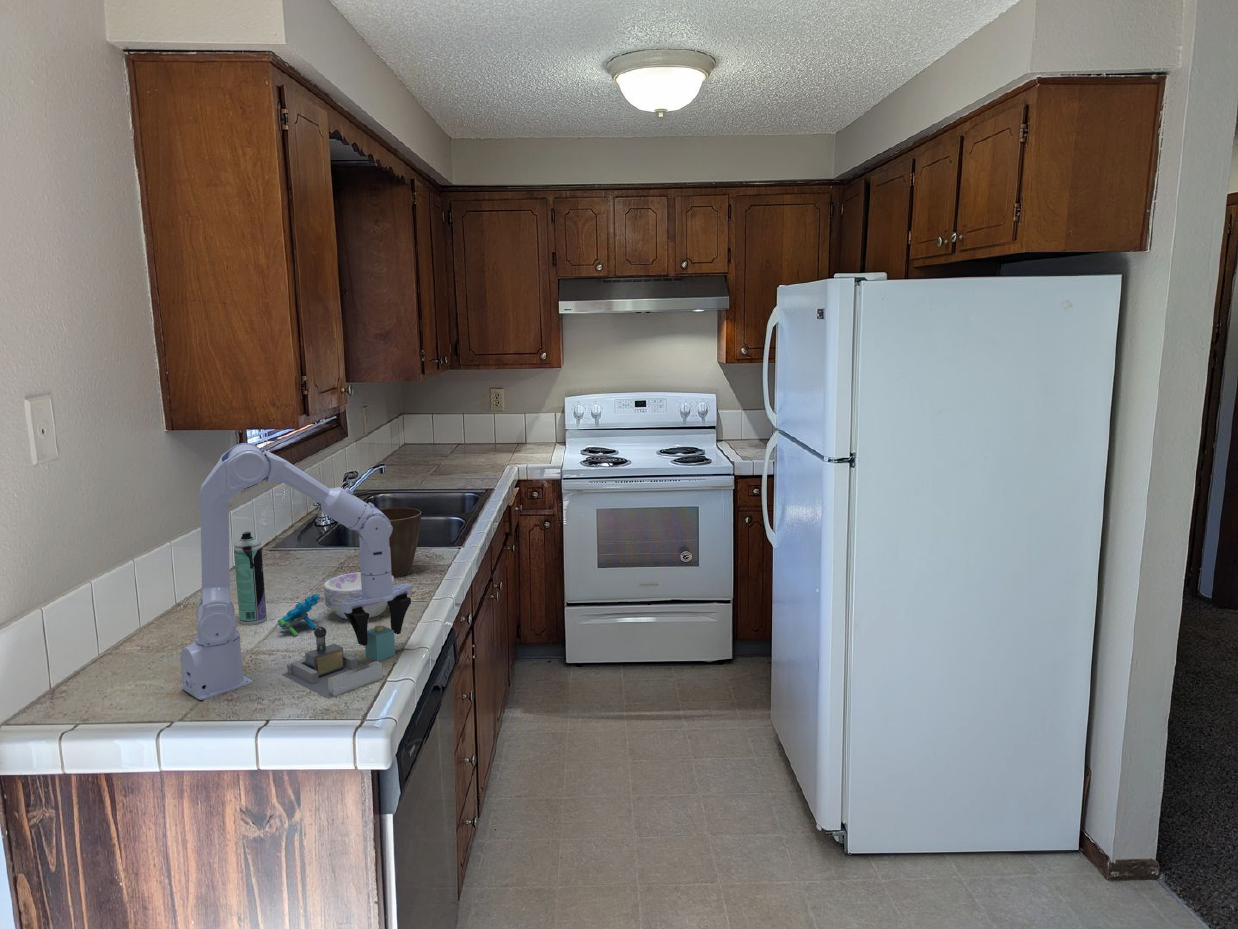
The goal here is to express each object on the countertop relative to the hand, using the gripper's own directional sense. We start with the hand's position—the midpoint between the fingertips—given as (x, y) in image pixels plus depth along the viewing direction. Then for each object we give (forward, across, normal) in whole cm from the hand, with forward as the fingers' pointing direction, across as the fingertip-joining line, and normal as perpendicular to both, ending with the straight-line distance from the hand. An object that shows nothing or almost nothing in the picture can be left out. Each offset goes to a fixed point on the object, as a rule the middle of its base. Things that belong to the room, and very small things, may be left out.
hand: (379, 638), depth 164 cm
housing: (+4, 0, 0) cm, 4 cm away
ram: (+3, -11, +1) cm, 12 cm away
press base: (+4, -11, -2) cm, 12 cm away
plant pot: (+4, +35, +45) cm, 57 cm away
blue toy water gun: (+4, -2, +27) cm, 27 cm away
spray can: (+4, -6, +39) cm, 40 cm away
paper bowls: (+4, +12, +25) cm, 28 cm away
